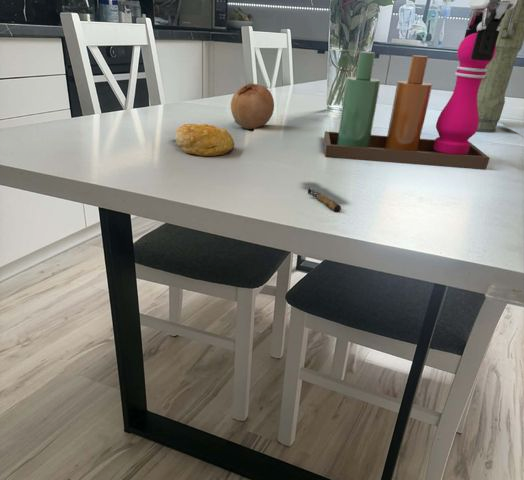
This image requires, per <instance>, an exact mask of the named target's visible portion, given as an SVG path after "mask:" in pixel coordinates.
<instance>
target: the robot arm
mask: <svg viewBox="0 0 524 480" xmlns="http://www.w3.org/2000/svg"><path fill="white" fill-rule="evenodd" d="M516 3H517V0H469V7H470V8H471V12H470V14H469V19H468V22H467V26H466V30H465V33H464V38H465V37H467V36H468V35H470V34H473V33H477V36H476V40H475V43H474V47H473V51H472V55H471V59H473V60H485V61H490V60H491V59H492V56H493V52H494V49H495V45H496V42H497V38H498V34H499V31H500V29H501V25H502V19H503V17H504V16H505V11H506V10H511V9H512V8H513V7H514V6H515V5H516ZM480 22H482V24H481V30H478V32H477V26H478V24H479V23H480ZM464 38H463V39H464Z"/></svg>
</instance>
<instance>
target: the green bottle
mask: <svg viewBox="0 0 524 480" xmlns="http://www.w3.org/2000/svg"><path fill="white" fill-rule="evenodd" d="M375 57H376V53H375V52H373V51H359V55H358V62H357V68H356V74H355V76H346V78H345V82H344V83H345V84H344V92H343V98H342V107H341V113H340V121H339V127H338V128H339V129H338V132H339V134H338V142H337V145H343V146H356V147H369V145H370V139H371V135H372V133H373V127H374V121H375V115H376V110H377V104H378V98H379V92H380V87H381V80H380V79H378V78H372V76H373V75H372V74H373V68H374V62H375Z"/></svg>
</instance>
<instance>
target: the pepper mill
mask: <svg viewBox="0 0 524 480" xmlns="http://www.w3.org/2000/svg"><path fill="white" fill-rule="evenodd" d="M481 24H482V22H480V23H479V24H478V26H477V32H478V30H481ZM476 36H477V33H473V34H470V35H468V36H467V37H465V36H464V37H465V38H463V39H462V41H460V43H459V46H458V49H457V55H456V56H457V60H458V62H459V65H457V66H456V70H455V72H454V75H455V76H456V80H455V85H454V89H453V92H452V94H451V96H450V98H449V100H448V101H447V103H446V104H445V106H444V107H443V109H442V110H441V112H440V114H439V116H438V118H437V120H436V124H435V129H436V132H437V133H438V137H436V138H435V139H434V140H435V143H434V147H433V149H434V150H436V151H438V152H441V153H446V154H459V155H463V154H467V153H468V150H469V147H470V143H471V142H470V141H469V139H471V137H473V136H474V135H475V134H476V133H477V132H478V131H477V129H478V124H479V114H478V107H477V94H478V90H479V86H480V84H481V81H482V78H485V77H486V75H485V74H486V71H487V68H485V67H486V66H487V64H488V63H489V62H490V61H491V60H492V59H493V58H494V56H495V52H496V45H495V49H494V52H493V56H492V59H491V60H490V61H485V60H473V59H471V55H472V51H473V47H474V43H475V40H476Z"/></svg>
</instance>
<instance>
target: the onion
mask: <svg viewBox="0 0 524 480" xmlns="http://www.w3.org/2000/svg"><path fill="white" fill-rule="evenodd" d="M274 110H275V100H274V97H273V94H272V92H271V91H270V90H269V89H268V87H266V86H265V85H262V84H259V83H253V82H249V83H247V84H245V85H243V86H241V87H240V88H238V89H237V90H235V92H234V94H233V95H232V97H231V100H230V111H231V115H232V118H233V120H234V123H235V124H236V125H238V126H240V127H241V128H243V129H247V130H255V129H258V128H262V127H264V126H266V125H267V124H268V123H269V122H270V120H271V118H272V117H273V114H274Z"/></svg>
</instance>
